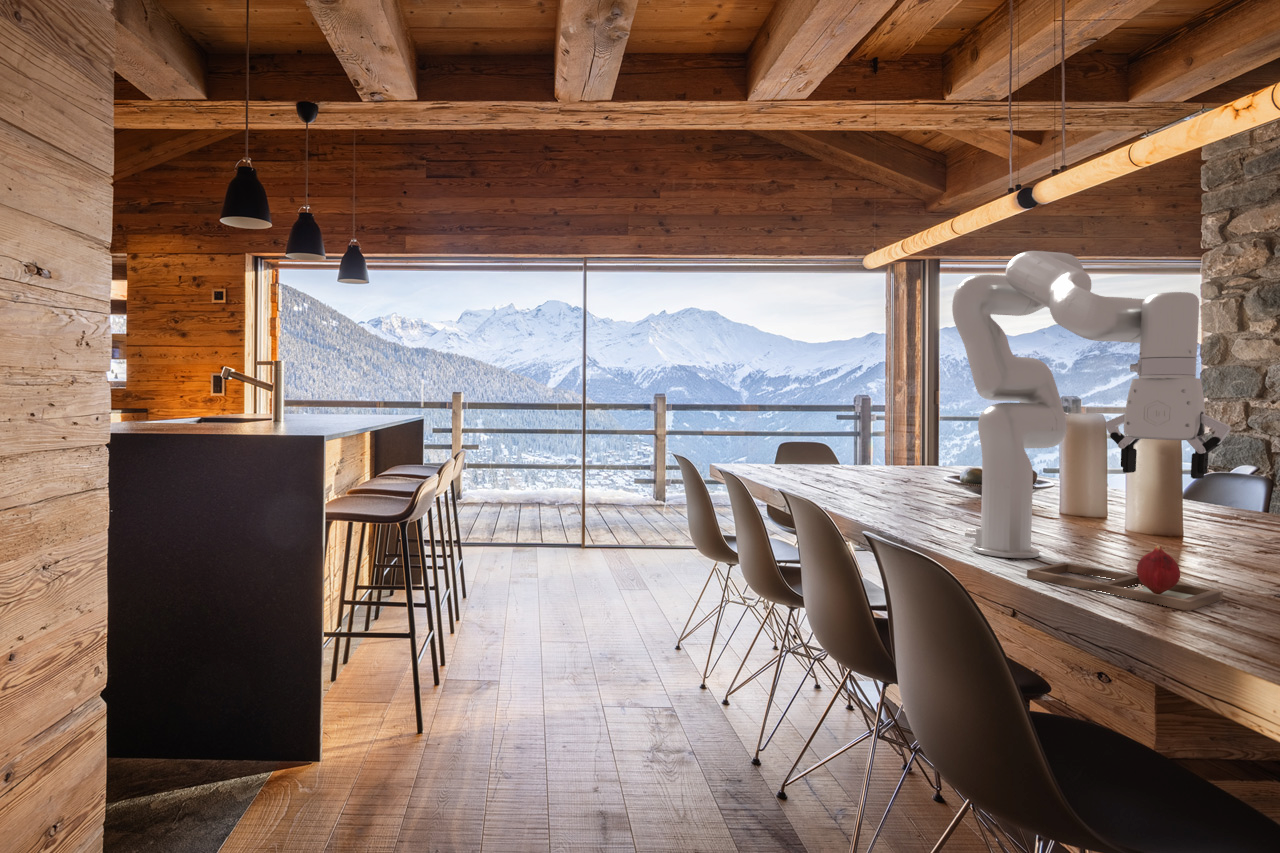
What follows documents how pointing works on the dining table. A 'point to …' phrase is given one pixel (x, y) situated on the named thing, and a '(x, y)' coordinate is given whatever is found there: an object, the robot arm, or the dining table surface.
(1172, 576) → the onion
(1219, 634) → the dining table surface
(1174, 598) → the rail frame
